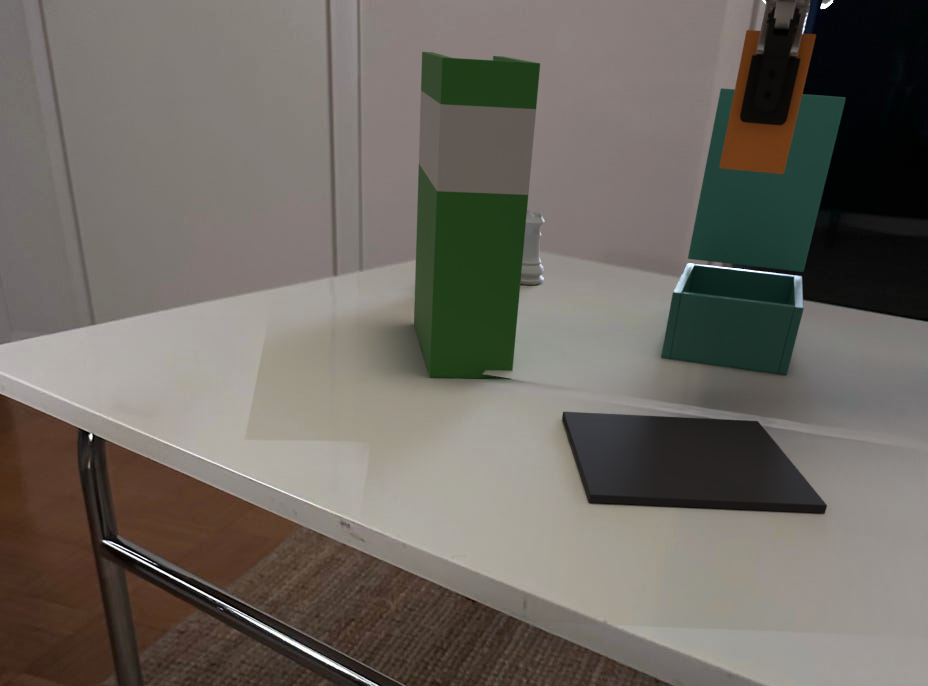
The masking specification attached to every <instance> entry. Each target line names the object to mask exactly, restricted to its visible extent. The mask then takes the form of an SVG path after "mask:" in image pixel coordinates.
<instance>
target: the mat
mask: <svg viewBox="0 0 928 686" xmlns="http://www.w3.org/2000/svg"><path fill="white" fill-rule="evenodd" d="M561 419H562V421H563V425H564V428H565V431H566V434H567V437H568V441H569V444H570V446H571V449H572V452H573V456H574V459H575V462H576V465H577V468H578V471H579V472H578V473H579V475H580V478H581V481H582V483H583V484H582V485H583V487H584V490H585V493H586V496H587V500H588V502H589V503H590V504H592V503H593V504H613V505H614V504H615V505H634V506H635V505H637V506H658V507H660V506H661V507H677V508H678V507H680V508H681V507H682V508H703V509H704V508H705V509H725V510H746V511H747V510H748V511H767V512H768V511H771V512H775V511H776V512H791V513H793V512H794V513H815V514H818V513H819V514H826V511H827V509H828V504H827V503H826V501H824V499H822V497H821V496H820V495H819V494H818V492H817V491H816V490H815V489H814V488H813V486H812V485H811V484H810V483H809V481H808V480H807V479H806V478H805V477H804V475H803V474H802V473H801V471H800V470H799V468H797V467H796V466H795V464H794V463H793V462H792V461H791V459H790V458H789V457H788V455H787V454H786V453H785V452H784V451H783V449H781V447H780V446H779V445H778V444H777V442H776V441H775V440H774V438H773V437H772V436H771V435H770V434H769V433H768V431H767V430H766V429H765V428H764V427H763V425H762V424H761V423H760V422H759V421H758V420H747V419H745V420H744V419H724V418H705V417H704V418H703V417H684V416H683V417H682V416H665V415H663V416H662V415H643V414H625V413H624V414H622V413H621V414H620V413H602V412H581V411H580V412H579V411H562V416H561Z"/></svg>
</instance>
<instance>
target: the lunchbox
mask: <svg viewBox="0 0 928 686" xmlns="http://www.w3.org/2000/svg"><path fill="white" fill-rule="evenodd" d="M669 306H670V307H669V311H668V317H667V322H666V329H665V333H664V340H663V344H662V351H661V357H660V359H665V360H671V361H672V360H673V361H678V362H679V361H680V362H686V363H695V364H702V365H708V366H714V367H715V366H716V367H722V368H728V369H729V368H731V369H735V370H736V369H738V370H743V371H744V370H745V371H752V372H759V373H766V374H772V375H779V376H780V375H781V376H787V375H788V371H789V367H790V364H791V360H792V357H793V352H794V348H795V345H796V340H797V337H798V334H799V333H798V332H799V328H800V325H801V321H802V317H803V313H804V308H805V306H804V289H803V276H802V275H793V274H787V273H786V274H785V273H776V272H770V271H769V272H768V271H760V270H751V269H742V268H733V267H725V266H717V265H707V264H700V263H699V264H698V263H691V262H687V263H686V265H685V267H684V268H683V271H682V273H681V275H680V277H679V279H678V281H677V283H676V285H675V287H674V290H673V291H672V295H671V301H670V305H669Z"/></svg>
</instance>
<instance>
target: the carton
mask: <svg viewBox="0 0 928 686" xmlns="http://www.w3.org/2000/svg"><path fill="white" fill-rule="evenodd" d="M760 31H761V30H754V29H746V31H745V35H744V40H743V46H742V51H741V57H740V62H739V66H738V71H737V76H736V81H735V86H734V89H735V91H734V96H733V101H732V107H731V112H730V117H729V122H728V127H727V132H726V137H725V142H724V147H723V152H722V157H721V162H720V168H724V169H735V170H745V171H755V172H766V173H776V174H784V171H785V167H786V163H787V158H788V154H789V150H790V145H791V141H792V137H793V132H794V128H795V124H796V119H797V115H798V111H799V106H800V102H801V98H802V94H804V89H805V85H806V80H807V77H808V72H809V67H810V63H811V59H812V55H813V50H814V46H815V42H816V38H817V34H816V33H802V38H801V42H800V46H799V51H798V55H797V58H799V59H800V64H799V68H798V72H797V77H796V81H795V86H794V90H793V94H792V99H791V103H790V108H789V112H788V116H787V120H786V122H785V123H784V124H783V125H770V124H758V123H747V122H742V121H741V119H740V113H741V109H742V104H743V99H744V94H745V89H746V84H747V79H748V74H749V69H750V64H751V59H752V55H756V50H757V45H758V40H759V35H760ZM793 37H794V34H793ZM792 42H793V39H792ZM791 45H792V44H791ZM790 51H791V50H790ZM764 53H765V52H764ZM789 55H790V53H789ZM763 56H764V55H763Z"/></svg>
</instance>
